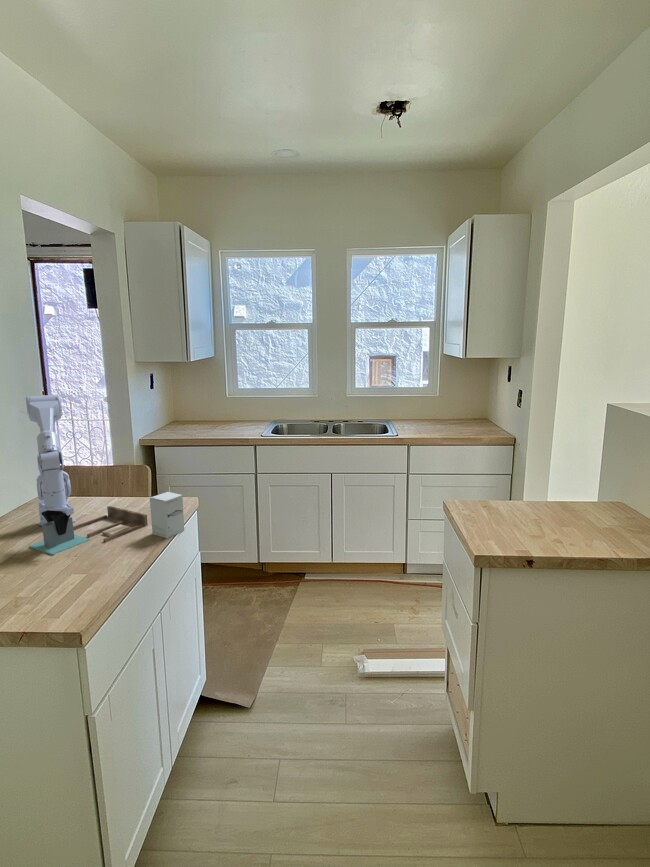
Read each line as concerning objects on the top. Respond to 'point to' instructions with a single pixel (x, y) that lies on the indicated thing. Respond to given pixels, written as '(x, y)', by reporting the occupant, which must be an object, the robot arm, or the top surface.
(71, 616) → the top surface
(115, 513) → the rack
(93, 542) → the top surface
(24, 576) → the top surface
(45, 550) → the mat
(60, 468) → the robot arm
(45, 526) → the block
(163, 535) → the supplement box
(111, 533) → the offcut top
